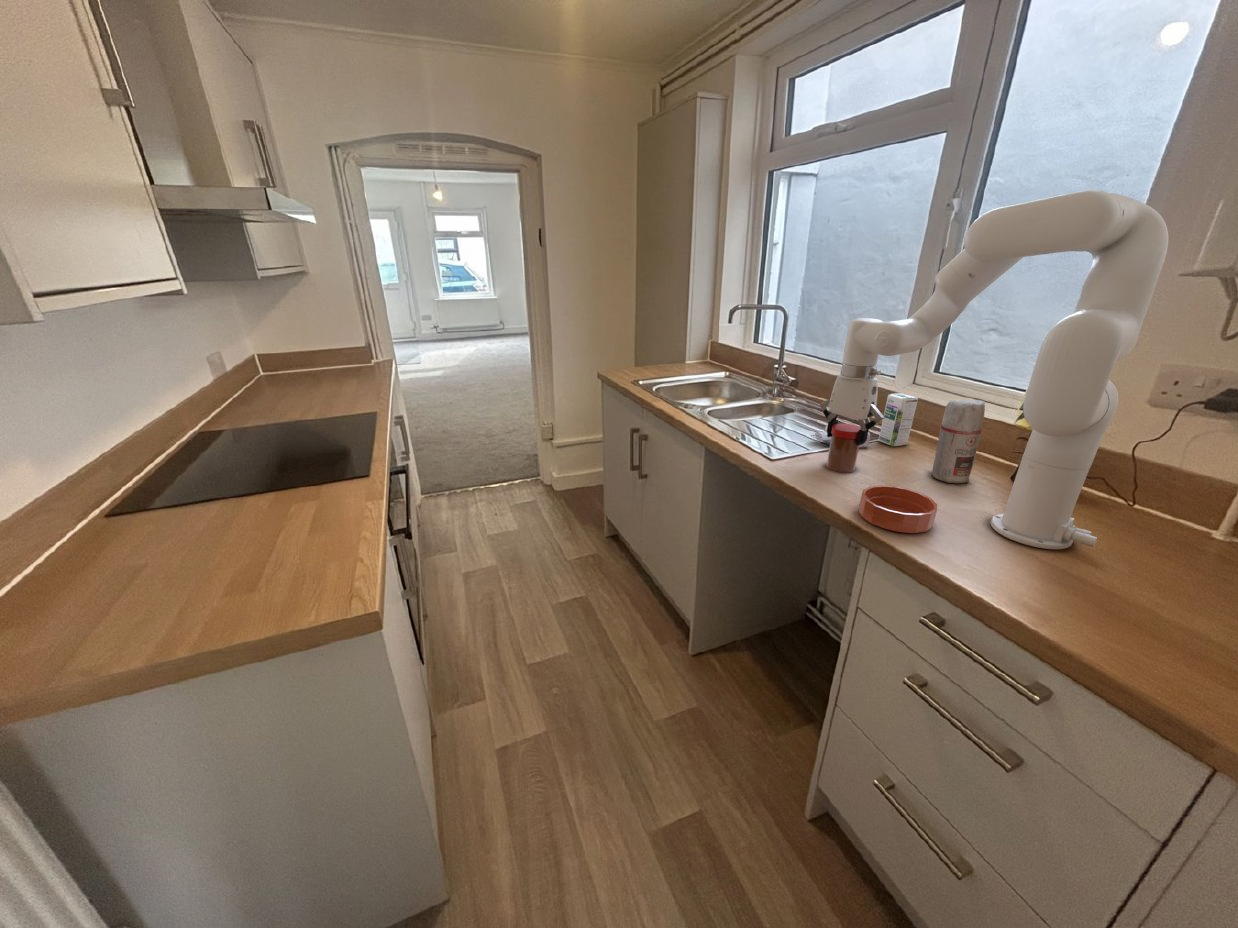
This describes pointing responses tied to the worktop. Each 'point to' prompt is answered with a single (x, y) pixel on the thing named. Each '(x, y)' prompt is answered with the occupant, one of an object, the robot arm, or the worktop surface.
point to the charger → (823, 437)
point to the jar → (842, 454)
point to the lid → (845, 431)
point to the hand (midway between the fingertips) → (845, 439)
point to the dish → (897, 509)
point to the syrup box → (898, 419)
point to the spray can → (958, 440)
